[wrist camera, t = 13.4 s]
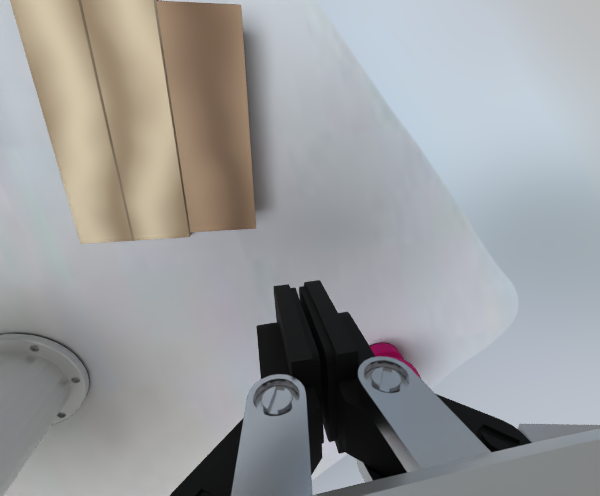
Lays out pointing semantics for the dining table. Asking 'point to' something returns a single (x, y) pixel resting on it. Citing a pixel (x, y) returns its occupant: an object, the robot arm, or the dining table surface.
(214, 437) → the dining table surface
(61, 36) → the board
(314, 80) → the dining table surface
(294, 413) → the robot arm
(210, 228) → the brown wooden block
